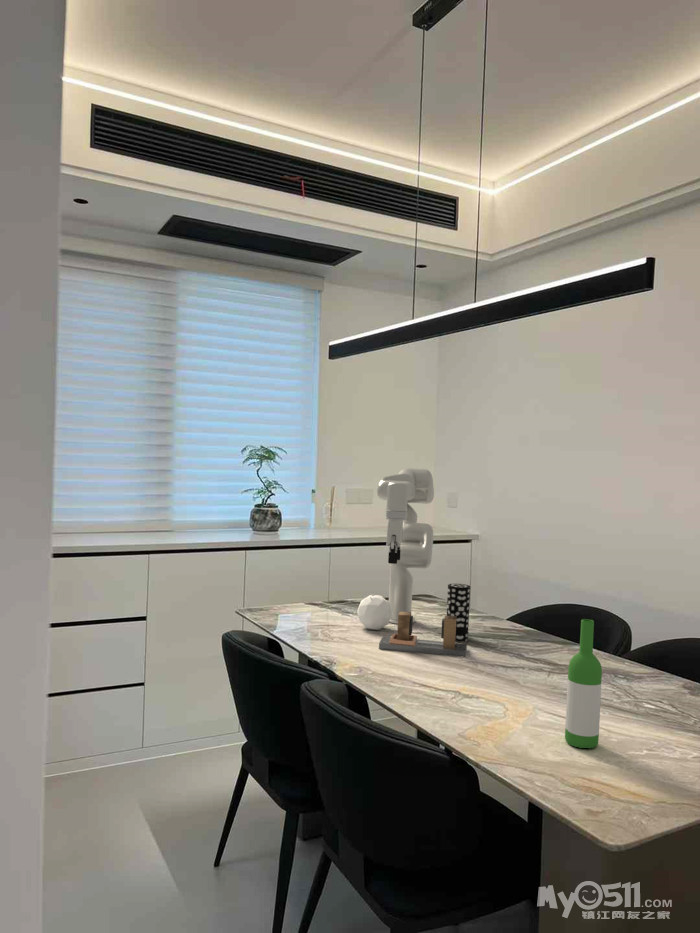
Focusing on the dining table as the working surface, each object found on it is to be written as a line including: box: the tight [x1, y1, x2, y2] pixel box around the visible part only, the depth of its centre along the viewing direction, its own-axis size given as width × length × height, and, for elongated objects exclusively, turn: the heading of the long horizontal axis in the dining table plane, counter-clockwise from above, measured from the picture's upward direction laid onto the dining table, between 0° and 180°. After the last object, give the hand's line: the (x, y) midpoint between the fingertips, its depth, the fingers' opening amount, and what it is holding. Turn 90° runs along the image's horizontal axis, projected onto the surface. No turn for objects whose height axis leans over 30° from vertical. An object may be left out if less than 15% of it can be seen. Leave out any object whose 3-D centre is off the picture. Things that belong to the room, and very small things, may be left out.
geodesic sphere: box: [356, 594, 392, 631], centre depth 277 cm, size 14×14×14 cm
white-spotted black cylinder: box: [446, 583, 471, 643], centre depth 268 cm, size 8×8×20 cm
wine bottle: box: [564, 618, 603, 749], centre depth 172 cm, size 8×8×30 cm
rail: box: [378, 614, 468, 658], centre depth 251 cm, size 10×30×12 cm, turn 80°
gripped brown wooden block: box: [396, 611, 414, 640], centre depth 252 cm, size 5×5×10 cm
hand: (394, 561), depth 265 cm, fingers open, 9 cm apart
